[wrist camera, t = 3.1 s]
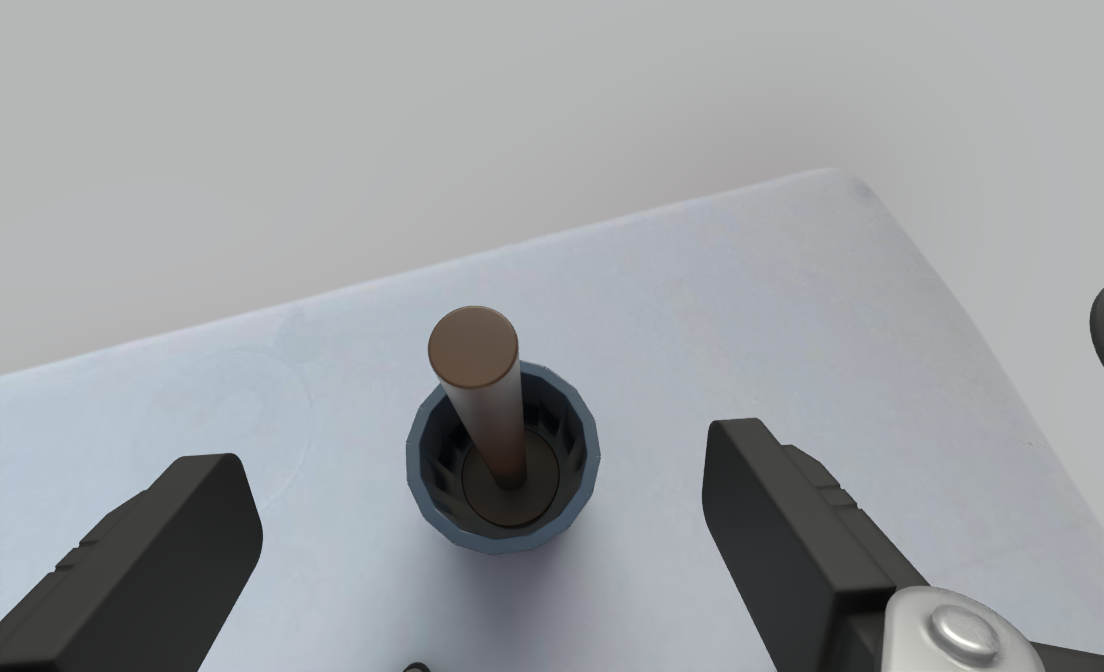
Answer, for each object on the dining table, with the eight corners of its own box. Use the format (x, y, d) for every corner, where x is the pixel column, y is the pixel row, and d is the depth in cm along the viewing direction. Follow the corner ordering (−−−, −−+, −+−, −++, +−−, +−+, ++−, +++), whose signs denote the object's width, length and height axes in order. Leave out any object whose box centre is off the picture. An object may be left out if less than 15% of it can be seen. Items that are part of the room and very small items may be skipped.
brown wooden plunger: (482, 425, 29) (394, 204, 10) (567, 448, 29) (632, 263, 10) (454, 514, 27) (285, 441, 9) (544, 539, 27) (572, 521, 8)
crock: (471, 403, 30) (443, 339, 21) (590, 436, 29) (617, 384, 20) (428, 530, 27) (376, 522, 18) (559, 567, 27) (573, 578, 18)
